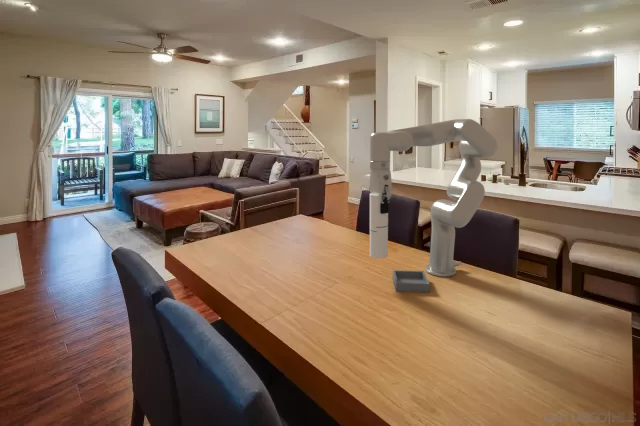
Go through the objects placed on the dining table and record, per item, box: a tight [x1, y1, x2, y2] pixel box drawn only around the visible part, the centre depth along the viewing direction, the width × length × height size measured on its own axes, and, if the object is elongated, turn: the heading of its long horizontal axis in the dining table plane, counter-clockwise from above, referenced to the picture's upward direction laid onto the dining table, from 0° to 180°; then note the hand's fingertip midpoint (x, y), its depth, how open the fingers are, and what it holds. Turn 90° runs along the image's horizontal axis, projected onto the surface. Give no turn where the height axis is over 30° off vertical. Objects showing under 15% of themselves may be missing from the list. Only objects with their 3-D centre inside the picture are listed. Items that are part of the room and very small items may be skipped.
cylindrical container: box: [369, 192, 389, 259], centre depth 142 cm, size 7×7×25 cm
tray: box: [392, 269, 431, 293], centre depth 144 cm, size 13×13×4 cm
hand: (379, 210), depth 141 cm, fingers closed on cylindrical container, 7 cm apart
